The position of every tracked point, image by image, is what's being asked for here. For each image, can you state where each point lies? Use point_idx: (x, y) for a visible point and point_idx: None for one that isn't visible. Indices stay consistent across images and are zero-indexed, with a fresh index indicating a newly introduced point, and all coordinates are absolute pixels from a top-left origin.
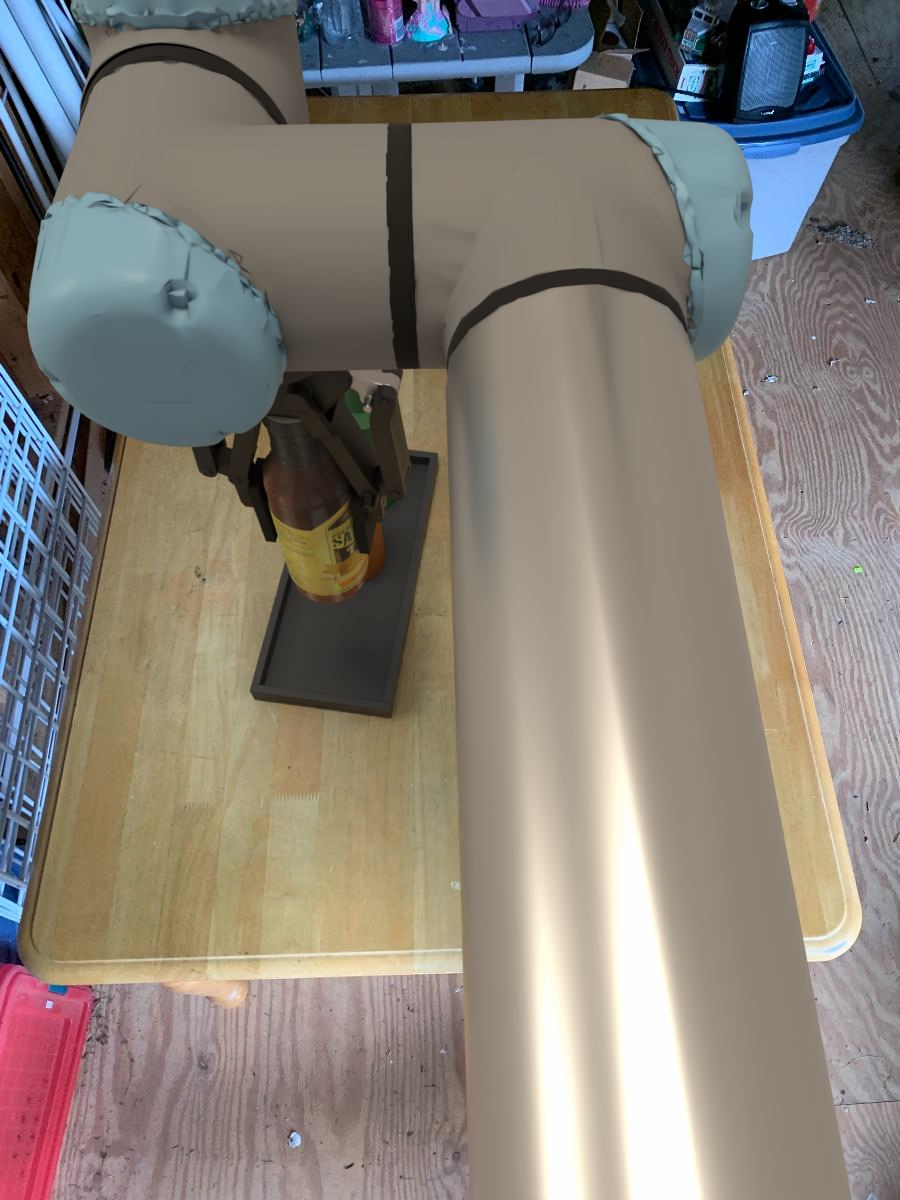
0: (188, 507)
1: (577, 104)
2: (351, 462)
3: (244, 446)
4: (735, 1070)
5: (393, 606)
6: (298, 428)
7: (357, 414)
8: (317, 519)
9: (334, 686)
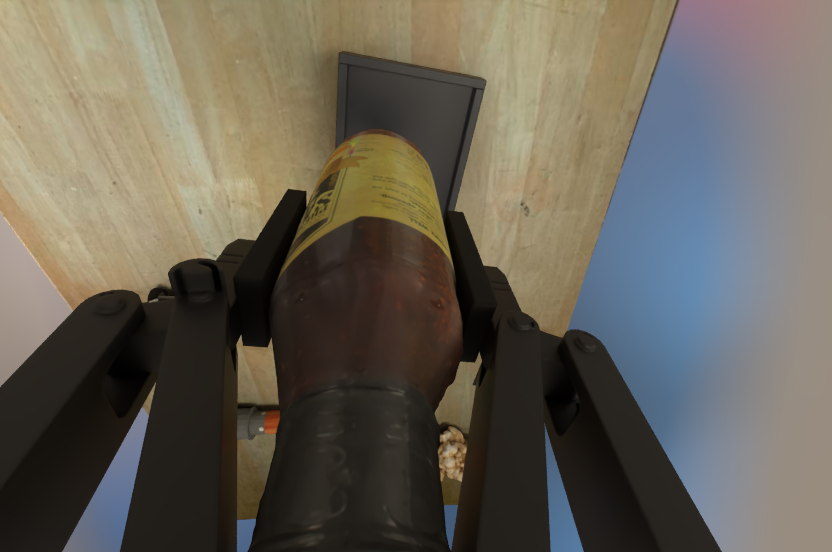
0: (530, 266)
1: None
2: (163, 416)
3: (511, 446)
4: None
5: None
6: None
7: None
8: (339, 239)
9: (402, 89)
